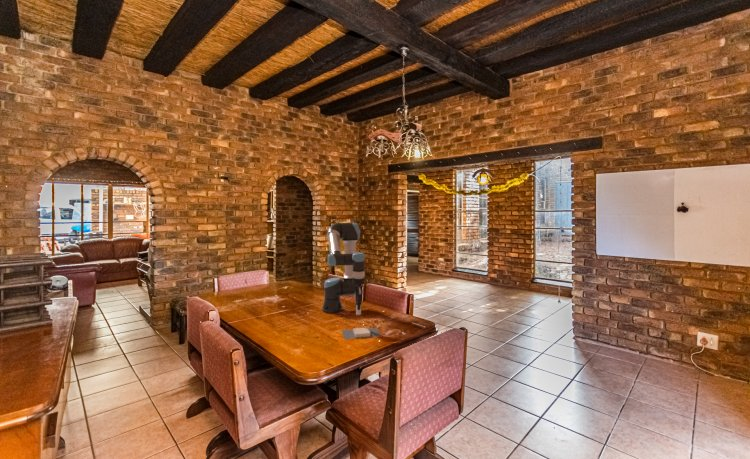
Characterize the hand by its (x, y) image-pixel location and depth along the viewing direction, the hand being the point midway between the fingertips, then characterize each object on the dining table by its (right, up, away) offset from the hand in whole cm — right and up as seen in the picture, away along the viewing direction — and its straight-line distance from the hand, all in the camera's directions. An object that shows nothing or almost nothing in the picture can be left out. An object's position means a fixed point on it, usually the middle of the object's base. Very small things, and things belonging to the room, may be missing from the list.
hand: (358, 314), depth 211 cm
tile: (+1, -8, -6) cm, 10 cm away
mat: (+2, -10, -9) cm, 13 cm away
